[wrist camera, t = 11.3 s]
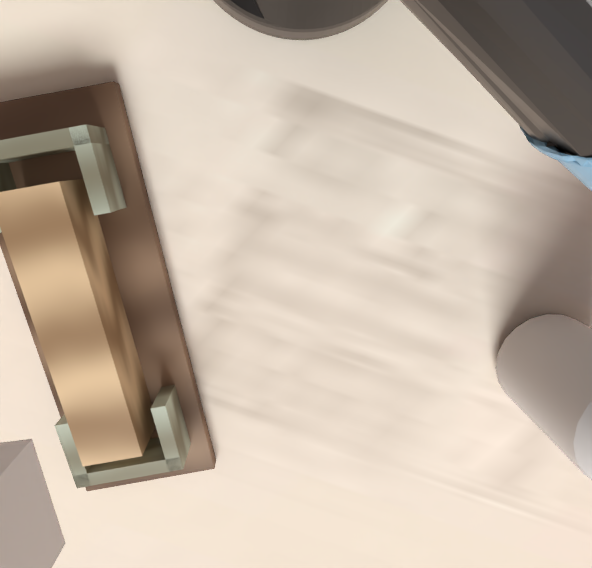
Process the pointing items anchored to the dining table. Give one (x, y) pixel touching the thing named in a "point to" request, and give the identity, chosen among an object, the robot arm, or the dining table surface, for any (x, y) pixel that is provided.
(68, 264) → the slat
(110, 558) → the dining table surface
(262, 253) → the dining table surface
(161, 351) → the cradle
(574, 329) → the can
